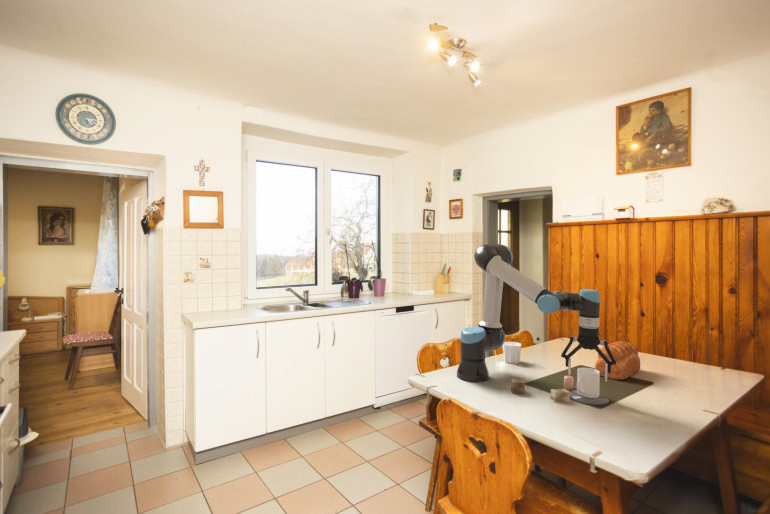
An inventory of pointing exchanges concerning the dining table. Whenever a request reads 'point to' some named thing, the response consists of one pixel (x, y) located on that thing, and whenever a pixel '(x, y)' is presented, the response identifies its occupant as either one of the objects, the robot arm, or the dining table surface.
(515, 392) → the walnut block
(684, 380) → the dining table surface
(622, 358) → the bread
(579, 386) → the mug
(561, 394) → the beech block
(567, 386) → the peach egg shape
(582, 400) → the gray plate
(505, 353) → the cup
